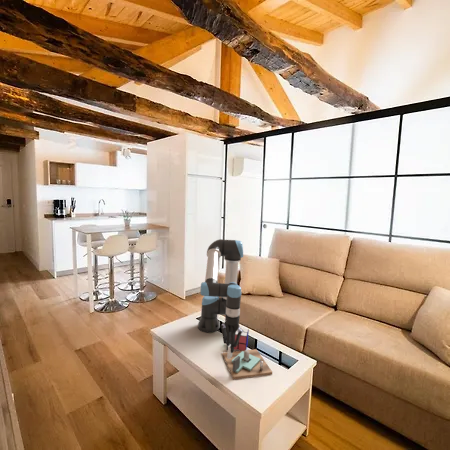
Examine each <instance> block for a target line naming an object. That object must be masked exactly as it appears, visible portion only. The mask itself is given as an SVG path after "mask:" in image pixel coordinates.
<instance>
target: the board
mask: <svg viewBox="0 0 450 450" xmlns="http://www.w3.org/2000/svg"><path fill="white" fill-rule="evenodd" d="M241 352H242V351H239V350H234V352H233V353H232V357H231V358H230V359H228V358H227V355H228V351H224V352H222V353H221V354H222V357H223V360H224V361H225V363H226V366H227V369H228V370H229V373H230V376H231V377H232V380H240V379H246V378H253V377H262V376H268V375H273V371H272V370H271V368H270V367H269V365H268V363H267V362H266V361H265V359H264V358H263V356H262V355H261V354H260V352H259V351H258V350H257V348H255V349H248V350H247V349H246V350H244V359H243V360H242V361H245V362H247V363H248V362H249V361H250V360H249V354H251V355H253V356H255V357H258V358H260V359H261V360H260V361H263V371H260V361H259V362H258V364H257V365H256V366H255V367H254V368H253V369H252V370H251V371H250V370H247V369H245V368H242V369H241V370H240V371H239V372H238V373H236V372H234V371H233V362H232V360H233V359H234V358H235V357H236V356H237V355H238V354H240V353H241Z"/></svg>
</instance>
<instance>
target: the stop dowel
mask: <svg viewBox="0 0 450 450" xmlns="http://www.w3.org/2000/svg"><path fill="white" fill-rule="evenodd" d="M260 371H263V361H260Z"/></svg>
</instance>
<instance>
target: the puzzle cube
mask: <svg viewBox="0 0 450 450" xmlns="http://www.w3.org/2000/svg"><path fill="white" fill-rule="evenodd" d="M239 328H240V329H241V330H243V332H242V333H241V336H240V339H239V342H238V345H237V346H236V347H234V351H244V350H247V349H248V345H249V343H248V342H249V328H245V327H244V328H243V327H239ZM237 334H238V330H237V331H236V334H235V340H236V337H237ZM230 344H231V343H230Z"/></svg>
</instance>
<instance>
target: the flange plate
mask: <svg viewBox="0 0 450 450" xmlns="http://www.w3.org/2000/svg"><path fill="white" fill-rule="evenodd" d="M243 359H244V351H242V352H241V353H240V354H238V355H237V356H236V357H235V358H234V359H233V360H232V362H233V371H234V372H236V373H238V372H239V371H240V370H241V369H242V368H245V369H247V370H250V371H251V370H252V369H253V368H254V367H255V366H256V365H257V364H258V362H259V361H260V360H261V359H260V358H258V357H255V356H253V355H251V354H249V360H250V361H249V362H248V363H247V362H245V361H242V360H243Z"/></svg>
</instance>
